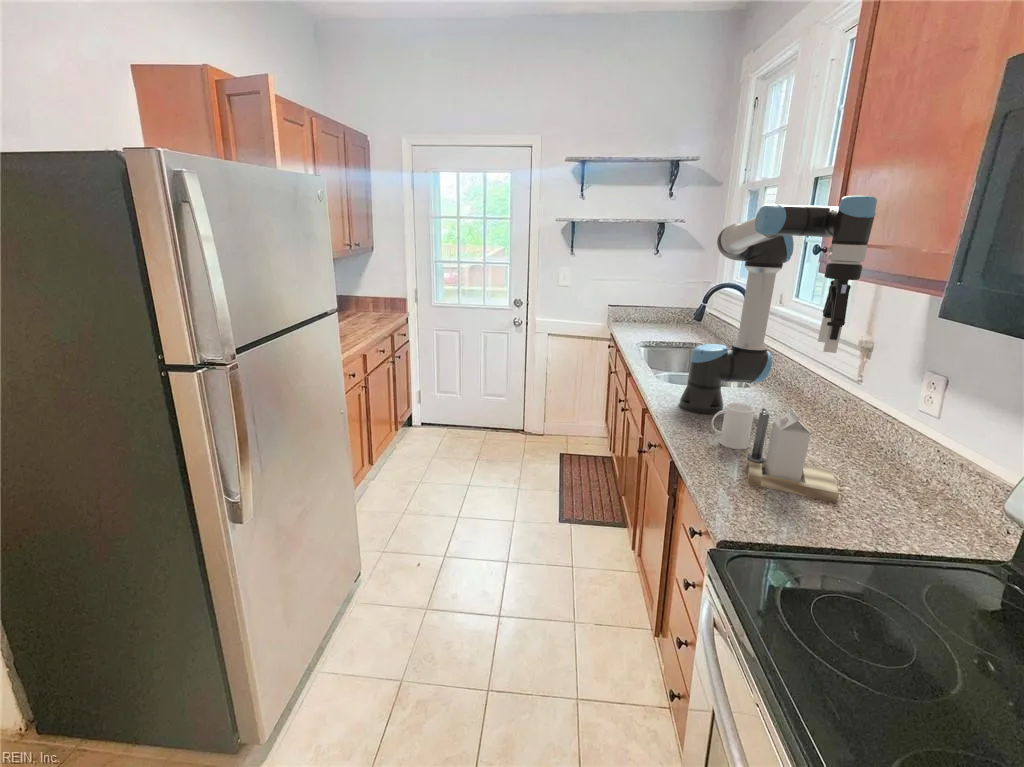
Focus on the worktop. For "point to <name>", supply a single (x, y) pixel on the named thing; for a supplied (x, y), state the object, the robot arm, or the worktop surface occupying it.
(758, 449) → the metal door lever handle
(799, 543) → the worktop surface
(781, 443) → the milk carton
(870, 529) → the worktop surface
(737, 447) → the mug
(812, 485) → the tan flat frame
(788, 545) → the worktop surface
